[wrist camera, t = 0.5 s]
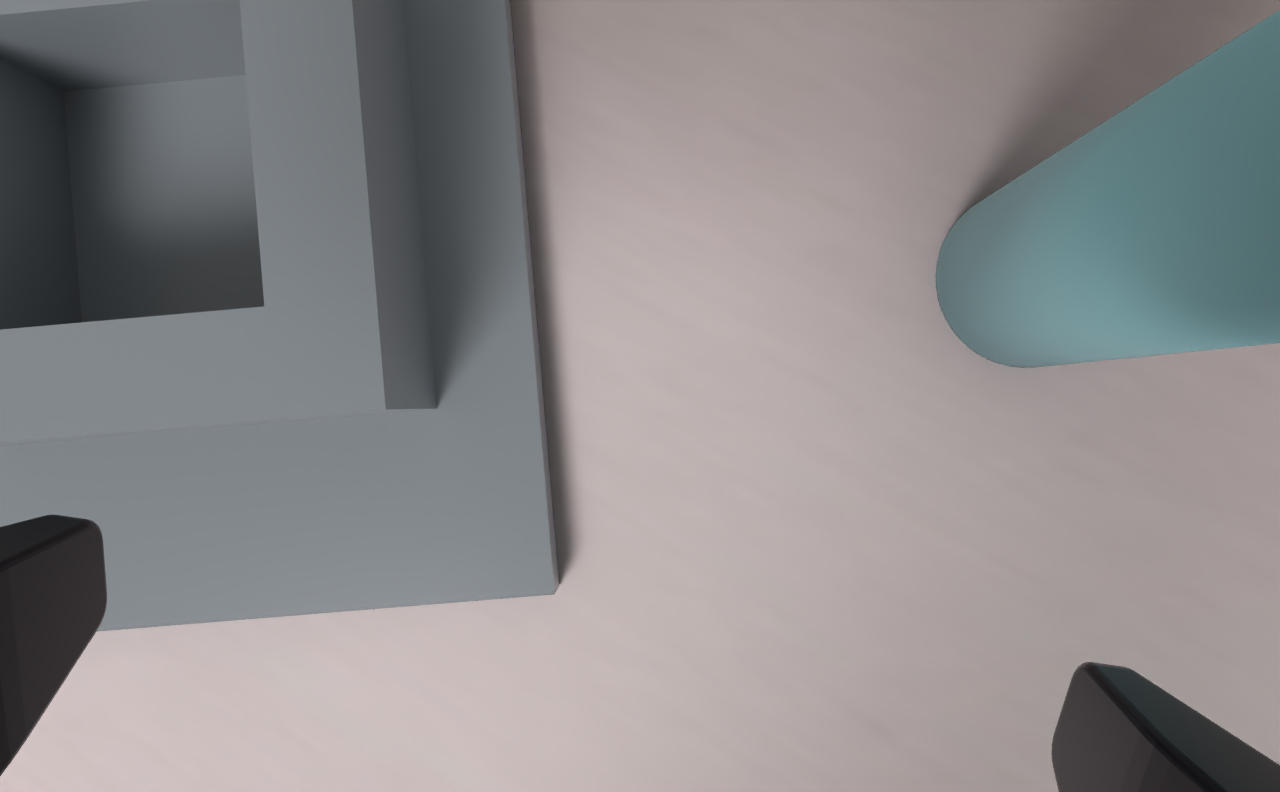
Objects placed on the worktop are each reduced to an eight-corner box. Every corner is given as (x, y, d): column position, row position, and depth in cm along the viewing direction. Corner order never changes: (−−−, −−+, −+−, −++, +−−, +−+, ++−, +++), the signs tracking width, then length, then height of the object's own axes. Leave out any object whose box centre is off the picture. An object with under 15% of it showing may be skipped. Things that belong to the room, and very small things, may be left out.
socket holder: (558, 585, 22) (529, 637, 17) (-51, 635, 23) (-251, 699, 18) (492, -205, 23) (444, -378, 18) (-111, -146, 23) (-327, -299, 18)
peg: (1124, 359, 22) (1768, 297, 9) (944, 374, 22) (1335, 334, 9) (1107, 181, 22) (1728, -130, 9) (928, 197, 22) (1294, -89, 9)
